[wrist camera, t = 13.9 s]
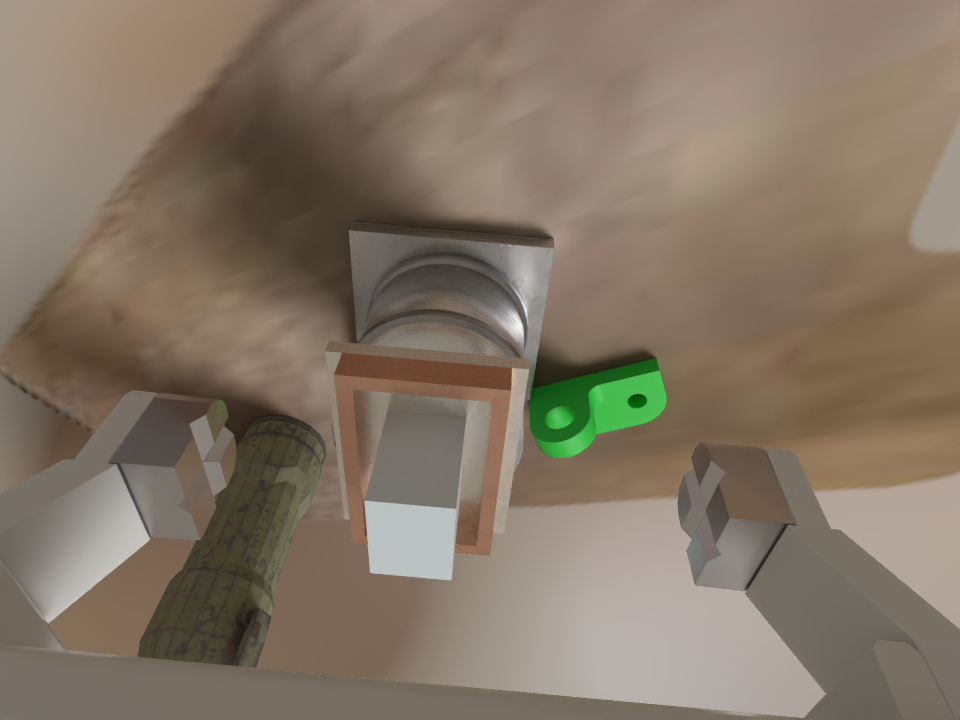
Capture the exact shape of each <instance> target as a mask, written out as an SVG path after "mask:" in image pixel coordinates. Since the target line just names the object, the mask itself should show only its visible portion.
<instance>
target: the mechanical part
mask: <svg viewBox="0 0 960 720" xmlns="http://www.w3.org/2000/svg"><path fill="white" fill-rule="evenodd" d="M634 394H639V395H635V396H633V395H634ZM665 405H666V393H665V389H664V386H663V382H662V378H661V374H660V370H659V367H658V363H657V359H656V358H654V359H650V360H646V361H642V362H638V363H634V364H630V365H626V366H622V367H618V368H613V369H609V370H605V371H601V372H597V373H593V374H589V375H585V376H581V377H577V378H572V379H568V380H564V381H560V382H556V383H552V384H548V385H544V386H540V387H536V388H532V392H531V398H530V429H531V432H532V434H533V436H534V439H535V441H536V443H537V445H538V447H539V449H540V450H541V451H542V452H543V453H544V454H546V455H547V456H550V457H554V458H566V457H570V456H573V455H576V454H578V453H580V452H581V451H583V450H584V449H586V448H587V447H588V446H589V445H590V444H591V442H592V441H593V439H594V437H595V434H598V433H603V432H608V431H612V430H617V429H621V428H626V427H631V426H635V425H640V424H644V423H646V422H649V421H651V420H653V419H654V418H656V417H657V416H658V415H659V414H660V413H661V412H662V411H663V409H664V407H665Z"/></svg>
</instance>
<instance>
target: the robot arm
mask: <svg viewBox="0 0 960 720" xmlns="http://www.w3.org/2000/svg"><path fill="white" fill-rule="evenodd" d="M228 417H229V415H228V411H227V408H226V405H225V402H224V401H221V400H219V399H211V398H203V397H194V396H185V395H176V394H168V393H154V392H145V391H137V390H132V391H131V392H129V393H127V394H125V395H124V396H123V397H122V398H121V399H120V401H119V402H118V403H117V405H116V406H115V407H114V409H113V410H112V411H111V412H110V414H109V415H108V416H107V418H106V419H105V420H104V422H103V423H102V424H101V425H100V427H99V428H98V429H97V431H96V432H95V433H94V434H93V436H92V437H91V439H90V440H89V441H88V442H87V444H86V445H85V446H84V448H83V449H82V450H81V451H80V453H79V454H78V455H77V457H76V458H75V459H74V460H63V461H61V462H59V463H57V464H55V465H54V466H51V467H50V468H48V469H46V470H44V471H42V472H40V473H38V474H37V475H35V476H33V477H31V478H29V479H27V480H25V481H24V482H22V483H20V484H18V485H16V486H14V487H12V488H10V489H8V490H7V491H5V492H3V493H1V494H0V720H960V629H959V628H958V627H956V626H955V625H954V624H953V623H951V622H950V621H949V620H948V619H947V618H946V617H944V616H943V615H942V614H941V613H940V612H938V611H937V610H936V609H935V608H934V607H932V606H931V605H930V604H929V603H927V602H926V601H925V600H924V599H923V598H922V597H920V596H919V595H918V594H917V593H915V592H914V591H913V590H912V589H911V588H909V587H908V586H907V585H906V584H905V583H903V582H902V581H901V580H900V579H898V578H897V577H896V576H895V575H894V574H893V573H891V572H890V571H889V570H888V569H886V568H885V567H884V566H883V565H882V564H880V563H879V562H878V561H877V560H876V559H874V558H873V557H872V556H871V555H870V554H868V553H867V552H866V551H865V550H864V549H862V548H861V547H860V546H859V545H857V544H856V543H855V542H854V541H853V540H852V539H850V538H849V537H848V536H847V535H846V534H844V533H843V532H842V531H841V530H836V529H831V528H830V526H829V524H828V522H827V520H826V518H825V515H824V513H823V511H822V509H821V507H820V505H819V503H818V500H817V498H816V496H815V494H814V492H813V490H812V488H811V486H810V483H809V481H808V479H807V477H806V475H805V473H804V471H803V468H802V466H801V464H800V462H799V460H798V458H797V456H796V454H795V453H794V452H793V451H791V450H789V449H776V448H764V447H760V448H758V447H750V446H738V445H726V444H713V443H700V444H699V445H698V446H697V447H696V448H695V451H694V453H693V455H692V457H691V458H692V462H693V466H694V469H693V470H692V471H690V472H688V473H687V474H685V475H684V477H683V480H682V482H681V485H680V488H679V496H678V513H679V519H680V524H681V528H682V529H683V530H684V531H685V532H686V533H687V534H688V536H689V537H691V539H692V540H691V542H690V544H689V546H688V549H687V554H688V559H689V563H690V567H691V571H692V575H693V579H694V583H695V585H696V586H705V587H714V588H722V589H731V590H739V591H746V593H745V594H746V595H747V597H748V598H749V599H750V600H751V602H752V603H753V604H754V605H755V607H756V608H757V609H758V610H759V611H760V613H761V614H762V615H763V616H764V618H765V619H766V620H767V621H768V623H769V624H770V625H771V626H772V627H773V629H774V630H775V631H776V632H777V633H778V635H779V636H780V637H781V638H782V640H783V641H784V642H785V643H786V645H787V646H788V647H789V648H790V650H791V651H792V652H793V653H794V655H795V656H796V657H797V658H798V660H799V661H800V662H801V663H802V665H803V666H804V667H805V668H806V669H807V671H808V672H809V673H810V674H811V676H812V677H813V678H814V679H815V681H816V682H817V683H818V684H819V685H820V687H821V688H822V689H823V690H824V692H825V693H826V695H825V696H824V697H823V698H822V699H821V700H820V701H819V702H818V703H817V704H816V705H815V706H814V707H813V708H812V709H811V711H810V712H809V713H808V714H807V715H806V717H805V718H797V717H786V716H774V715H763V714H753V713H742V712H731V711H720V710H709V709H698V708H688V707H676V706H666V705H655V704H643V703H634V702H623V701H612V700H601V699H590V698H580V697H569V696H557V695H547V694H536V693H526V692H515V691H503V690H493V689H483V688H472V687H461V686H460V687H459V686H449V685H439V684H428V683H417V682H406V681H395V680H384V679H373V678H362V677H351V676H339V675H329V674H318V673H308V672H297V671H285V670H275V669H264V668H253V667H242V666H231V665H221V664H210V663H199V662H188V661H177V660H166V659H155V658H144V657H133V656H122V655H112V654H100V653H90V652H79V651H68V650H65V648H64V645H63V643H62V642H61V640H60V639H59V638H58V636H57V635H56V634H55V632H54V631H53V629H52V628H51V627H50V625H49V624H48V623H49V622H50V621H51V620H53V619H54V618H55V617H57V616H58V615H59V614H60V613H61V612H63V611H64V610H65V609H66V608H67V607H69V606H70V605H71V604H72V603H74V602H75V601H76V600H77V599H78V598H80V597H81V596H82V595H83V594H84V593H86V592H87V591H88V590H89V589H91V588H92V587H93V586H94V585H95V584H97V583H98V582H99V581H100V580H102V579H103V578H104V577H105V576H106V575H108V574H109V573H110V572H111V571H112V570H114V569H115V568H116V567H117V566H119V565H120V564H121V563H122V562H124V561H125V560H126V559H127V558H128V557H130V556H131V555H132V554H133V553H134V552H136V551H137V550H138V549H139V548H141V547H142V546H143V545H144V544H145V543H147V542H148V541H149V540H150V538H149V537H159V538H176V539H190V540H201V538H202V536H203V534H204V532H205V530H206V528H207V526H208V524H209V522H210V520H211V518H212V516H213V514H214V512H215V510H216V504H215V501H214V498H213V496H214V495H215V494H217V493H218V492H220V491H221V490H223V489H224V488H226V487H227V485H228V483H229V481H230V479H231V476H232V474H233V471H234V466H235V461H236V442H235V438H234V434H233V433H232V432H230V431H229V430H228V429H227V428H226V427H225V426H224V424H225V422H226V420H227V419H228Z"/></svg>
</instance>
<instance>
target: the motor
mask: <svg viewBox="0 0 960 720" xmlns="http://www.w3.org/2000/svg"><path fill="white" fill-rule="evenodd" d="M349 241H350V254H351V268H352V281H353V295H354V308H355V322H356V335H357V343H346V342H335V341H329V343H328V345H327V348H326V350H325V355H326V364H327V372H328V381H329V390H330V398H331V407H332V415H333V422H332V435H333V440H334V444H335V446H336V450H337V458H338V467H339V476H340V484H341V493H342V501H343V510H344V519H349V521H350V530H351V539H352V543H357V544H368V539H367V526H366V514H365V502H364V500H365V496H366V493H367V489H368V485H369V481H370V477H371V473H372V469H373V465H374V461H375V457H376V454H377V450H378V446H379V442H380V438H381V434H382V430H383V426H384V422H385V418H386V415H387V412H395V413H407V414H418V415H429V416H440V417H451V418H462V419H466V427H465V441H464V455H463V468H462V482H461V494H460V504H459V513H458V522H457V532H456V541H455V551H454V552H456V553H467V554H478V555H488V556H489V555H490V549H491V542H492V534H493V533H504V532H505V525H506V518H507V512H508V506H509V499H510V492H511V486H512V479H513V472H514V471H515V469H516V468H517V466H518V464H519V462H520V460H521V456H522V452H523V413H524V411H525V407H526V403H527V400H530V398H531V392H532V386H533V380H534V373H535V367H536V361H537V355H538V348H539V342H540V336H541V329H542V323H543V317H544V311H545V304H546V298H547V292H548V285H549V279H550V273H551V267H552V260H553V254H554V239H551V238H540V237H528V236H517V235H506V234H494V233H483V232H472V231H460V230H449V229H438V228H426V227H415V226H404V225H392V224H381V223H370V222H358V221H353V223H352V225H351V227H350V229H349Z"/></svg>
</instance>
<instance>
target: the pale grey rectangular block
mask: <svg viewBox="0 0 960 720" xmlns="http://www.w3.org/2000/svg"><path fill="white" fill-rule="evenodd" d="M465 427H466V419H462V418H451V417H440V416H429V415H418V414H407V413H395V412H387V415H386V418H385V422H384V426H383V430H382V434H381V438H380V442H379V446H378V450H377V454H376V457H375V461H374V465H373V469H372V473H371V477H370V481H369V485H368V489H367V493H366V496H365V500H364V502H365V514H366V526H367V539H368V551H369V564H370V573H377V574H389V575H399V576H410V577H422V578H433V579H443V580H451V578H452V569H453V560H454V551H455V541H456V532H457V522H458V513H459V504H460V494H461V482H462V468H463V455H464V441H465Z"/></svg>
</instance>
